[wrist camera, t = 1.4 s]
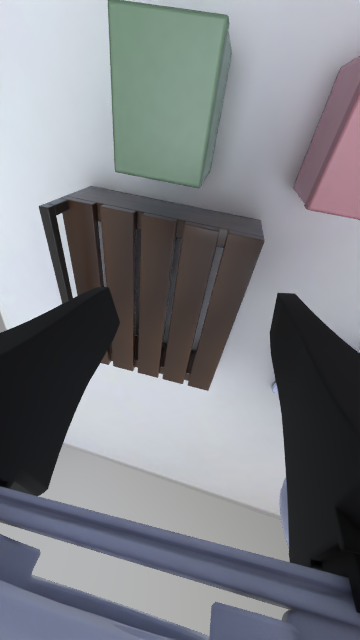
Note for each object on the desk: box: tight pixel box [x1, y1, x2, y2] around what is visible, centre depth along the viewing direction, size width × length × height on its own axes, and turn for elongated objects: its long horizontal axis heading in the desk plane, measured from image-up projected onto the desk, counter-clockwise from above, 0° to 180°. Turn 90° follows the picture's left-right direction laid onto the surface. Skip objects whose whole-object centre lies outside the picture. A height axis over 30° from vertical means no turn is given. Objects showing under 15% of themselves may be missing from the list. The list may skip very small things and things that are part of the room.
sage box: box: [108, 0, 232, 188], centre depth 12 cm, size 5×6×5 cm
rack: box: [39, 186, 264, 391], centre depth 20 cm, size 13×16×6 cm
